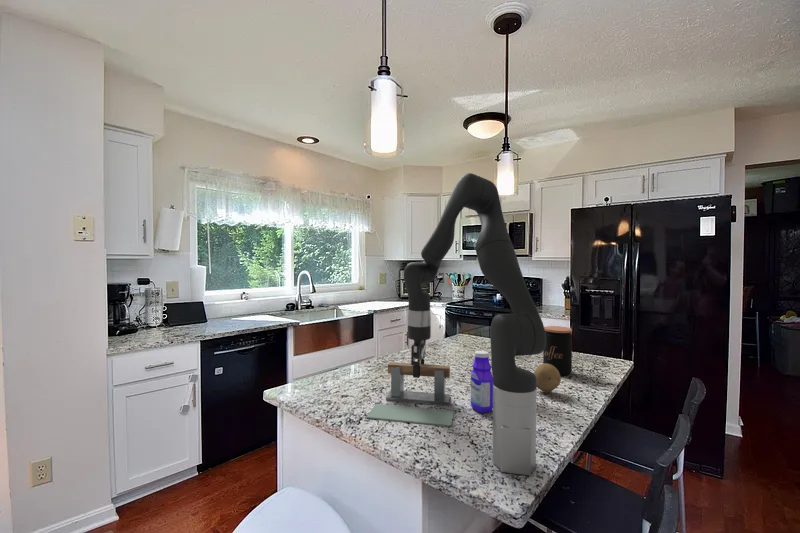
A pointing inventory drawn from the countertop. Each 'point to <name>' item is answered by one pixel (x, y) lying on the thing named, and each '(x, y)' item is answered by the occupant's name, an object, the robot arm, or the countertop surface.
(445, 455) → the countertop surface
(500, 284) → the robot arm
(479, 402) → the bottle
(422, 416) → the mat
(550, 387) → the tan round lump
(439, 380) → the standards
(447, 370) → the rail
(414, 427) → the countertop surface
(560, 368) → the coffee jar
